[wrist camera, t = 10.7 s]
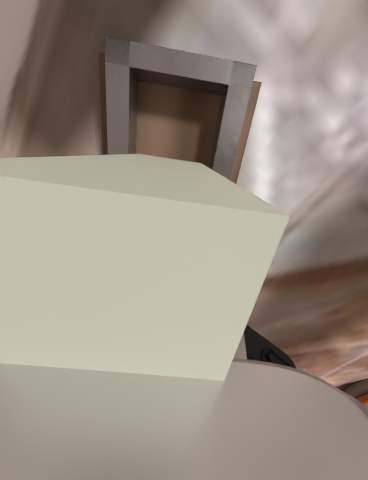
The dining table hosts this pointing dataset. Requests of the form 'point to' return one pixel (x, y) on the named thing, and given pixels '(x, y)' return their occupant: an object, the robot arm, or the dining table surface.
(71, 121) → the dining table surface
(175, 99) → the grey rectangular tray
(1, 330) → the pale green block
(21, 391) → the robot arm
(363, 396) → the pie
